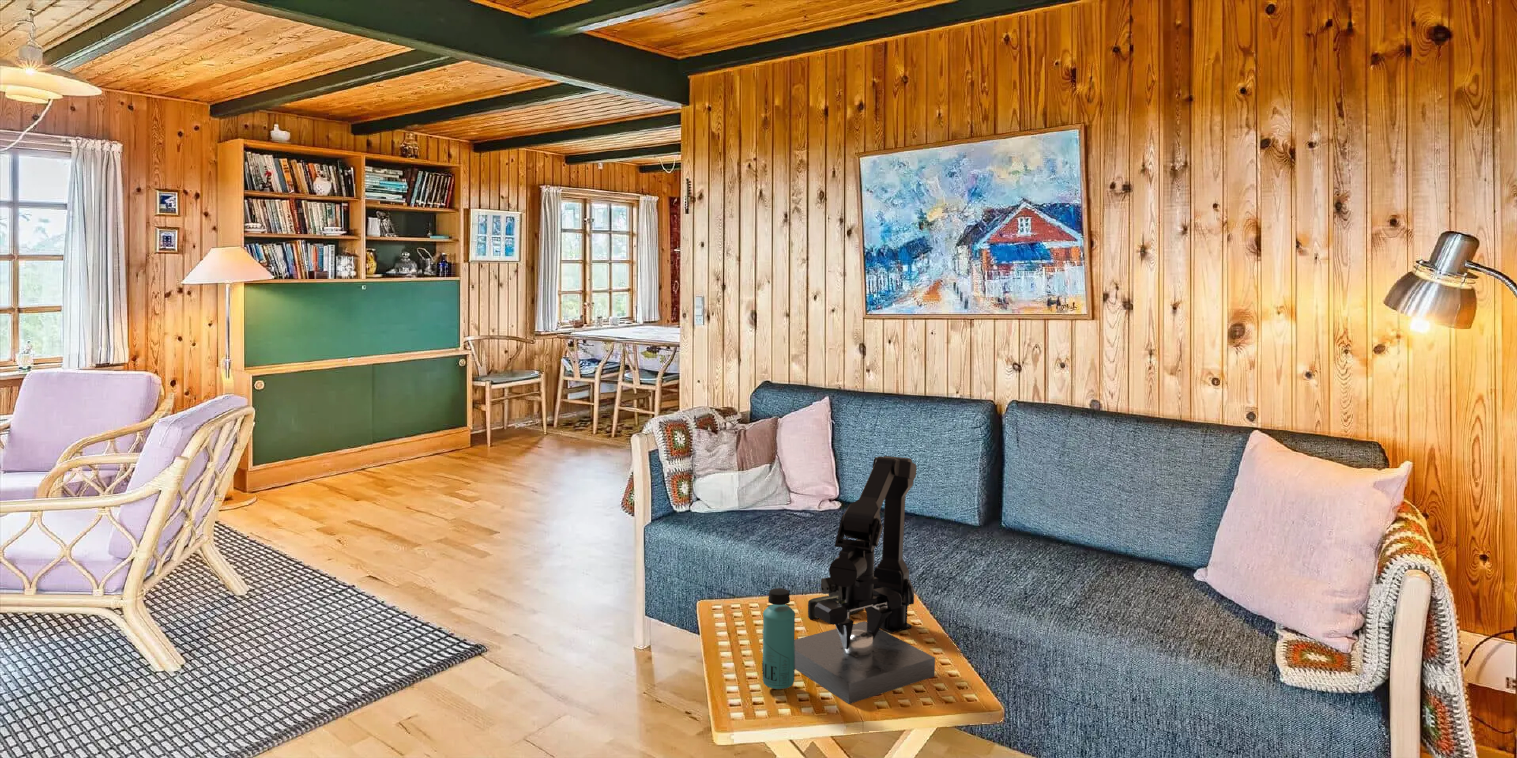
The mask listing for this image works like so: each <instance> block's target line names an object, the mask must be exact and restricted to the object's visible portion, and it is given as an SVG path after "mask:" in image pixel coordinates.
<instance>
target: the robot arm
mask: <svg viewBox="0 0 1517 758" xmlns="http://www.w3.org/2000/svg"><path fill="white" fill-rule="evenodd" d="M916 476H917V464H916V463H914V462H913V460H912V458H909V457H901V456H900V457H899V456H890V455H884V456H880V455H879V456H875V457H874V458H873V462H872V470H871V471H870V474H869V476H868V479H867V481H866V482H865V484H864V487H863V490H862V492H861V495H860V496H859V498H858V499H857V500H856V501H853V502H852V503H849V505H848V506H847V508H846V509H845V510H846V511H844V513H842V515H841V518H840V522H839V526H838V531H837V534H836V537H835V543H834V547H835V548H837V547H838V548H841V550H840V551H838V557H836V558H835V559H834V560H832V562H831V563H830V565H829V568H828V572H829V577H823V578H821V579H820V591H821V593H822V594H823V595H828V596H829V597H832V596H837V595H838V598H839V599H841V600H845V603H842V604H839V603H837V602H835V601H833V600H827V601H823V602H819V603H817V604H816V605H815V616H816V617H818V618H820V619H819V620H821V621H823V622H825V623H827V624H829V625H832V626H833V625H834V626H835V629H837V630H838V633H839V636H840V639H841V642H842V645H843V648H845V649H848V647H849V644H850V639H851V633H852V628H853V624H855V623H854V622H855V621H854V620H852V619H851V618H850V615H849V613H850V612H851V611H855V610H859V609H863V608H864V609H863V610H865V612H866V622H867V632H870V633H871V634H872V635H873V640H874V638H875V636H876V634H877V632H878V631H879V629H881V630H883V631H885V632H887V633H889V634H893V633H896V632H900V631H904V630H908V629H911V628H912V624H911V623H908V607H909V606H910V605H914V603H915V589H914V585H913V583H912V581H911V579H910V570H909V567H908V566H907V564H906V562H905V560H904V558H903V554H904V535H905V534H904V533H905V532H904V531H905V513H906V512H905V511H906V495H908V492H910V489H912V487H913V485H914V480H915V479H916ZM883 504H884V509H883V510H884V511H883V524H882V519H881V515H880V514H881V513H880V512H881V508H882V506H883ZM881 535H882V553H881V555H882V556H881V560H880V561H879V563H878V565H876V567H875V549H876V547H878V545H879V543H880V538H881ZM844 537H845V538H844ZM859 611H860V610H859Z"/></svg>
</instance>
